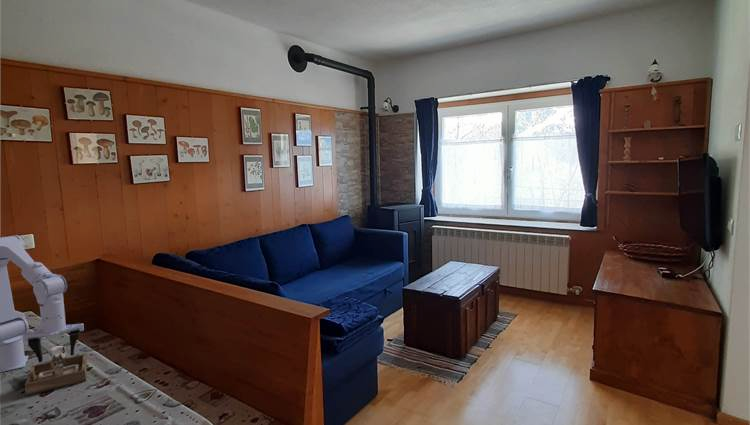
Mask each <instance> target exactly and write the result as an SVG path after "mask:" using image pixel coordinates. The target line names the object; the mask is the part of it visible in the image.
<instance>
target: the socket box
mask: <svg viewBox="0 0 750 425" xmlns="http://www.w3.org/2000/svg"><path fill="white" fill-rule="evenodd" d="M87 368H88V359H87V353H84V354H79V355H72V356H69V357H66V374H64V375H59V376H55V377H53V374H52V368H51V363H50V361H48V362H46V361H45V362H41V363H37V364H34V365H31V367H30V370H29V372H28V375H27V378H26V380H25V382H24V392H25V397H29V396H33V395H37V394H40V393H44V392H48V391H52V390H56V389H60V388H64V387H68V386H72V385H76V384H81V383H84V382H86V381H87V371H88V369H87Z"/></svg>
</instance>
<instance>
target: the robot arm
mask: <svg viewBox="0 0 750 425" xmlns="http://www.w3.org/2000/svg"><path fill="white" fill-rule="evenodd" d="M25 248H26V247H25V240H23V239H22V237H20V235H17V234H15V235H10V236H2V237H0V373H4V372H7V371H13V370H18V369H21V368H25V367H26V364H27V362H28V359H29V355H25V346H24V343H26V342H27V345H28V347H29V348H30V349H31V350H32V352H33V353H34V354H35V356H36V357H37V360H38V363H43V360H44V358H43V351H42V343H41V339H43V338H48V337H53V336H54V337H55V336H59V335H64V334H69V336H68V337H69V344H70V350H69V352H70V356H75V355H74V354H75V347H76V344H77V341H78V338H79V336H80V332H83V331H84V330H85V327H84V326H85V325H84V323H83V322H82V323H74V324H66V312H65V304H64V303H65V302H64V300H65V299H64V293H65V292H67V289H68V283H67V281H66V278H65V277H64V275H61V274H56V273H53V272H51V271H50V269H49V268H47V267H46V266H45V265H44V264H43V263H42V262H40V261H34V260H33V258H32V257H31V256H30V255H29V252H27V251H26V249H25ZM10 261H11V262H12V263H13V264H15V265H16V266H17V267H18V268H20V269H21V274H20V275H21V276H22V277H23V278H24V279H25V280H26V281H27V282H28V283H29V284H30V285H31V286H32V287H33V288H32V290H33V294H34V295H35V298H36V302H37V304H38V305H39V309H40V310H39V313H40V323H41V329H40V330H35V331H31V332H29V329H30V328H29V327H30V326H29V322H28V320H27V319H26V315H25V313H23V312H21V311H18V310H15V305H14V300H13V294H12V288H11V283H10V277H9V272H8V266H7V265H8V263H9V262H10Z"/></svg>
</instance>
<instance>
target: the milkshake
mask: <svg viewBox="0 0 750 425" xmlns="http://www.w3.org/2000/svg"><path fill="white" fill-rule="evenodd" d="M47 355H48V358H49V360H48V361H49V362H50V363H51V368H52V374H53V377H55V376H59V375H64V374H66V358H67V347H66V346H65V344H64V345H57V346H54V347H52V348H50V349H49V350H48V351H47Z"/></svg>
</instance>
